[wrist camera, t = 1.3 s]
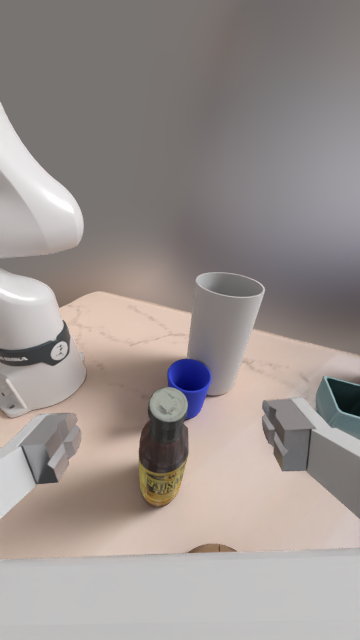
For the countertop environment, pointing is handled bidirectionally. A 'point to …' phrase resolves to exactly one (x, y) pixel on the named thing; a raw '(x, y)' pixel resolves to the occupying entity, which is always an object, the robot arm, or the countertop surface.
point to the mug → (190, 383)
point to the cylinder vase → (223, 325)
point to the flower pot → (339, 405)
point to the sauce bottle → (163, 447)
